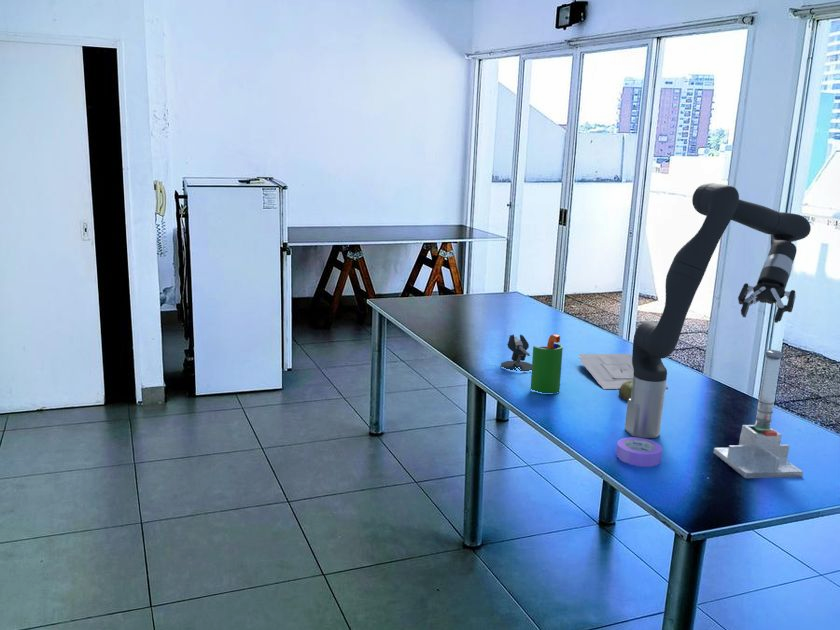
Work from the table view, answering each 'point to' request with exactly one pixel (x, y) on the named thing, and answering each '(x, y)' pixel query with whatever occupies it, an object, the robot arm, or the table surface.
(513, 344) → the gun turret
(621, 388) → the weight
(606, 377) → the papers
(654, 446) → the masking tape
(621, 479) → the table surface
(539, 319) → the table surface
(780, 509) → the table surface
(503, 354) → the table surface
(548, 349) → the green pen holder
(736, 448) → the jack base
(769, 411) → the cylinder
